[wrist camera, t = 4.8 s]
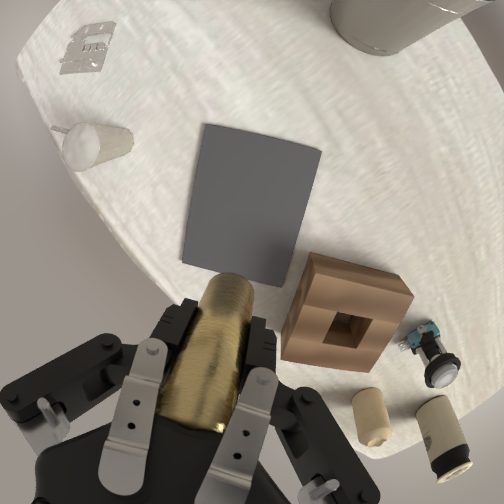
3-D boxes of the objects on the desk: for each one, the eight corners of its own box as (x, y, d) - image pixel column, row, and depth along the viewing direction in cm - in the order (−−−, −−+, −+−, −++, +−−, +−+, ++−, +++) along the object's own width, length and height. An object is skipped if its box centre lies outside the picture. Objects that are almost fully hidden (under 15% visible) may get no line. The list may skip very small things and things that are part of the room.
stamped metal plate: (119, 24, 22) (113, 21, 20) (103, 72, 24) (97, 70, 23) (75, 30, 22) (69, 28, 20) (61, 75, 24) (55, 74, 23)
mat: (206, 124, 26) (206, 124, 26) (321, 151, 26) (322, 151, 26) (183, 261, 33) (182, 262, 32) (281, 286, 33) (281, 287, 32)
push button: (400, 354, 36) (420, 403, 27) (393, 331, 34) (417, 383, 25) (436, 335, 34) (463, 379, 25) (433, 311, 32) (464, 357, 23)
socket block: (310, 252, 31) (315, 272, 26) (399, 275, 31) (414, 296, 26) (280, 333, 36) (280, 359, 31) (361, 347, 36) (368, 372, 31)
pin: (210, 266, 16) (146, 403, 7) (259, 279, 17) (237, 429, 7) (203, 306, 18) (150, 440, 9) (248, 318, 18) (223, 460, 9)
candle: (377, 383, 39) (390, 431, 29) (384, 398, 40) (396, 442, 31) (347, 395, 40) (355, 444, 31) (356, 409, 42) (364, 454, 32)
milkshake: (121, 110, 26) (64, 107, 17) (146, 141, 27) (94, 147, 18) (97, 138, 27) (40, 145, 18) (121, 169, 29) (67, 185, 20)
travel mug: (453, 392, 40) (481, 457, 23) (437, 414, 43) (458, 476, 26) (425, 398, 40) (450, 471, 24) (409, 420, 43) (427, 487, 27)
